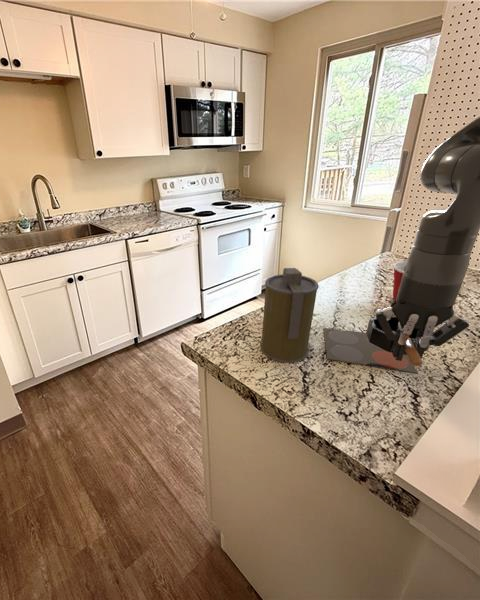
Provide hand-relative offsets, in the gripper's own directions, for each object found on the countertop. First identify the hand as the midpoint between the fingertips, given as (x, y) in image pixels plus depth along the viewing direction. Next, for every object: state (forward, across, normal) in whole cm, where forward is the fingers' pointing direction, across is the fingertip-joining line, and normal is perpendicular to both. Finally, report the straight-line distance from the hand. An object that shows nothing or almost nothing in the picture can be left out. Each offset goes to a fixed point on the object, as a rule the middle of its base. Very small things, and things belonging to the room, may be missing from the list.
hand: (404, 359), depth 59 cm
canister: (+6, -21, +5) cm, 22 cm away
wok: (0, 0, +3) cm, 3 cm away
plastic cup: (+5, +9, +35) cm, 36 cm away
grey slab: (+5, -4, +11) cm, 12 cm away
